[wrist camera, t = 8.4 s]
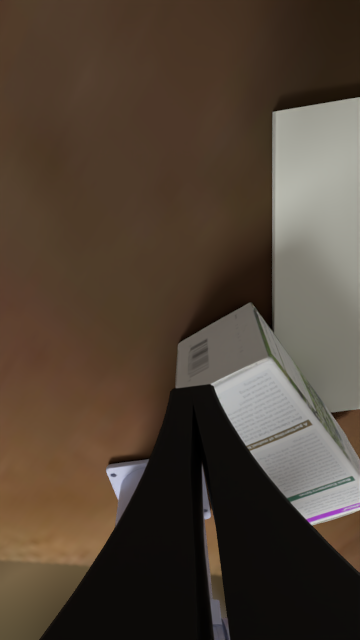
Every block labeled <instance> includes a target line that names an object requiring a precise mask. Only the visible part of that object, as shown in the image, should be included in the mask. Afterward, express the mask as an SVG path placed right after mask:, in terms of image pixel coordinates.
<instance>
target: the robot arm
mask: <svg viewBox="0 0 360 640" xmlns="http://www.w3.org/2000/svg"><path fill="white" fill-rule="evenodd" d="M202 463H203V466H202ZM203 468H204V472H205V477H206V482H207V487H208V491H209V496H210V501H211V506H212V510H213V515H214V520H215V525H216V531H217V539H218V547H219V555H220V563H221V571H222V579H223V587H224V594H225V603H226V611H227V617H225V618H221V611H220V602H219V600H213V598H212V589H211V578H210V568H209V558H208V549H207V539H206V529H205V519H208V518H210V517H211V512H210V506H209V500H208V495H207V489H206V483H205V477H204V472H203ZM106 472H107V475H108V477H109V479H110V482H111V484H112V486H113V489H114V491H115V494H116V496H117V498H118V508H117V516H116V524H115V528H114V530H113V532H112V534H111V535H110V537H109V539H108V540H107V542H106V544H105V545H104V547H103V548H102V550H101V552H100V553H99V555H98V556H97V558H96V559H95V561H94V562H93V564H92V565H91V567H90V569H89V570H88V572H87V573H86V575H85V576H84V578H83V579H82V581H81V582H80V584H79V585H78V587H77V588H76V590H75V591H74V593H73V594H72V596H71V597H70V598H69V600H68V601H67V603H66V604H65V605H64V607H63V608H62V609H61V611H60V612H59V613H58V615H57V616H56V618H55V619H54V620H53V622H52V623H51V624H50V626H49V627H48V628H47V630H46V631H45V633H44V634H43V635H42V637H41V638H40V639H39V640H360V573H359V572H358V571H357V570H356V569H355V568H354V567H353V566H352V565H351V564H350V563H349V562H348V561H347V560H346V559H344V558H343V557H342V556H341V555H340V554H339V553H338V552H337V551H336V550H335V549H334V548H333V547H332V546H331V545H330V544H329V543H328V542H327V541H326V540H325V539H324V538H323V537H322V536H321V535H320V533H319V532H318V531H317V530H316V529H315V528H314V527H313V526H312V525H311V524H310V523H309V522H308V521H307V520H306V519H305V518H304V517H303V516H302V515H301V513H300V512H299V511H298V510H297V509H296V508H295V507H294V506H293V505H292V504H291V502H290V501H289V500H288V499H287V498H286V497H285V496H284V494H283V493H282V492H281V491H280V490H279V489H278V487H277V486H276V485H275V484H274V482H273V481H272V480H271V479H270V478H269V476H268V475H267V474H266V472H265V471H264V470H263V469H262V467H261V466H260V465H259V463H258V462H257V461H256V459H255V458H254V456H253V455H252V454H251V452H250V451H249V449H248V448H247V447H246V445H245V444H244V442H243V441H242V439H241V438H240V436H239V434H238V433H237V431H236V430H235V428H234V426H233V425H232V423H231V422H230V420H229V418H228V416H227V415H226V413H225V411H224V409H223V407H222V405H221V403H220V401H219V399H218V397H217V394H216V392H215V389H214V386H213V385H211V384H206V385H198V386H191V387H183V388H175V389H172V391H171V392H170V397H169V402H168V406H167V410H166V414H165V417H164V420H163V424H162V427H161V429H160V432H159V435H158V438H157V441H156V444H155V446H154V449H153V451H152V454H151V456H150V458H149V459H146V460H139V461H131V462H123V463H115V464H110V465H108V466H107V468H106Z"/></svg>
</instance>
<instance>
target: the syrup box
mask: <svg viewBox="0 0 360 640" xmlns="http://www.w3.org/2000/svg"><path fill="white" fill-rule="evenodd" d="M206 384H211V385H213V386H214V389H215V392H216V394H217V397H218V399H219V401H220V403H221V405H222V407H223V409H224V411H225V413H226V415H227V416H228V418H229V420H230V422H231V423H232V425H233V426H234V428H235V430H236V431H237V433H238V434H239V436H240V438H241V439H242V441H243V442H244V444H245V445H246V447H247V448H248V449H249V451H250V452H251V454H252V455H253V456H254V458H255V459H256V461H257V462H258V463H259V465H260V466H261V467H262V469H263V470H264V471H265V472H266V474H267V475H268V476H269V478H270V479H271V480H272V481H273V482H274V484H275V485H276V486H277V487H278V489H279V490H280V491H281V492H282V493H283V494H284V496H285V497H286V498H287V499H288V500H289V501H290V502H291V504H292V505H293V506H294V507H295V508H296V509H297V510H298V511H299V512H300V513H301V515H302V516H303V517H304V518H305V519H306V520H307V521H308V522H309V523H310V524H311V525H315V524H319V523H322V522H325V521H329V520H332V519H336V518H339V517H342V516H345V515H348V514H351V513H354V512H356V511H359V510H360V459H359V458H358V456H357V454H356V453H355V451H354V449H353V447H352V446H351V444H350V442H349V440H348V439H347V437H346V435H345V433H344V431H343V430H342V429H341V427H340V426H339V424H338V423H337V421H336V420H335V418H334V417H333V416H332V414H331V413H330V411H329V410H328V408H327V407H326V406H325V404H324V403H323V401H322V400H321V399H320V397H319V396H318V394H317V393H316V392H315V390H314V389H313V388H312V386H311V385H310V384H309V382H308V381H307V379H306V378H305V376H304V375H303V373H302V372H301V371H300V369H299V368H298V366H297V365H296V364H295V362H294V361H293V359H292V358H291V357H290V355H289V354H288V352H287V351H286V350H285V348H284V347H283V345H282V344H281V342H280V341H279V340H278V338H277V337H276V335H275V334H274V333H273V331H272V330H271V328H270V327H269V326H268V324H267V323H266V322H265V320H264V319H263V317H262V316H261V315H260V313H259V312H258V311H257V309H256V307H255V306H254V305H253V303H251V302H250V303H248V304H246V305H244V306H243V307H241V308H239V309H237V310H235V311H234V312H232V313H230V314H228V315H227V316H225V317H223V318H221V319H219V320H218V321H216V322H214V323H212V324H211V325H209V326H207V327H205V328H204V329H202V330H200V331H199V332H197V333H195V334H193V335H192V336H190V337H188V338H186V339H185V340H183V341H181V342H180V343H179V344H178V353H177V367H176V388H183V387H191V386H198V385H206Z"/></svg>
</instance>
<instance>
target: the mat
mask: <svg viewBox="0 0 360 640" xmlns="http://www.w3.org/2000/svg"><path fill="white" fill-rule="evenodd" d="M272 331H273V333H274V334H275V335H276V337H277V338H278V340H279V341H280V342H281V344H282V345H283V347H284V348H285V350H286V351H287V352H288V354H289V355H290V357H291V358H292V359H293V361H294V362H295V364H296V365H297V366H298V368H299V369H300V371H301V372H302V373H303V375H304V376H305V378H306V379H307V381H308V382H309V384H310V385H311V386H312V388H313V389H314V390H315V392H316V393H317V394H318V396H319V397H320V399H321V400H322V401H323V403H324V404H325V406H326V407H327V408H328V410H329V411H330V413H332V412H339V411H347V410H354V409H360V97H358V98H352V99H346V100H340V101H334V102H328V103H322V104H316V105H310V106H305V107H299V108H293V109H287V110H281V111H275V112H273V122H272Z"/></svg>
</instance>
